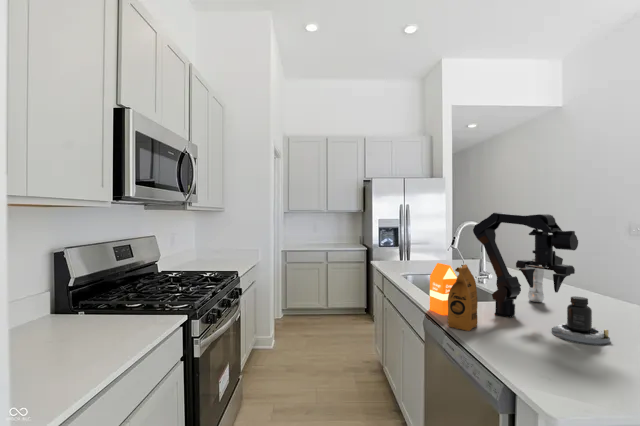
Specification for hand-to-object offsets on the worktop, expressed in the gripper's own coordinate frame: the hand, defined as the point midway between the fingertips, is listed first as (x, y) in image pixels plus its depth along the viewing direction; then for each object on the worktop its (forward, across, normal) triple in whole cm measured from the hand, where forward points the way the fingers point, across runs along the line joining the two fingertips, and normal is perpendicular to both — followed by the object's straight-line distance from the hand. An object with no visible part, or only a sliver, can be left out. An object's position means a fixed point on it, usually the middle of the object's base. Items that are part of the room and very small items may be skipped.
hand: (543, 289), depth 133 cm
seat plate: (+13, -13, +1) cm, 18 cm away
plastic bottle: (+13, +23, -31) cm, 41 cm away
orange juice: (+13, +29, +21) cm, 38 cm away
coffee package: (+13, +12, +28) cm, 33 cm away
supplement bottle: (+12, -13, +1) cm, 18 cm away
